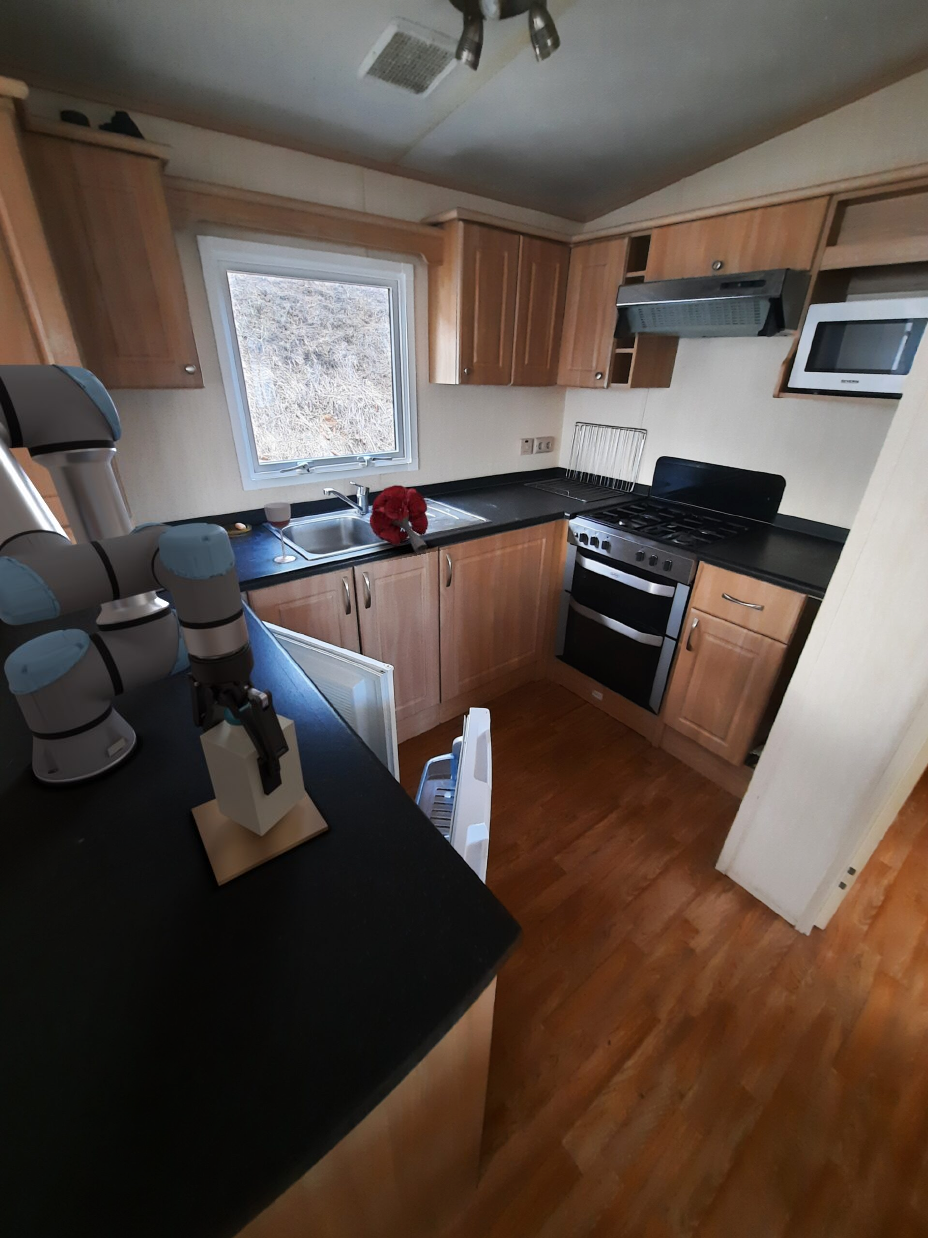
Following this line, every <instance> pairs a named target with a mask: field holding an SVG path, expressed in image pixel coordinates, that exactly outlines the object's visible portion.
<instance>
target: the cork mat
mask: <svg viewBox="0 0 928 1238" xmlns="http://www.w3.org/2000/svg"><path fill="white" fill-rule="evenodd" d="M191 813H192V815H193V819H194V821H195V824H196V827H197V830H198V833H199V835H200V838H201V840H202V843H203V846H204V849H205V852H206V855H207V858H208V861H209V863H210V866H211V868H212V871H213V874H214V877H215V880H216V883H217V885H218V887H220V886H222V885H224V884H226V883H227V882H230V881H232V880H234V879H235V878H237V877H239V876H241V875H243V874H246V873H247V872H249V871H251V870H253V869H255V868H256V867H260V866H261V865H263V864H264V863H266V862H268V861H270V860H272V859H274V858H276V857H278V856H279V855H282V854H284V853H285V852H288V851H290V850H291V849H293V848H296V847H297V846H299V845H301V844H303V843H305V842H307V841H309V840H311V839H312V838H315V837H316V836H317V837H318V836H319V835H320V834H322V833H324V832H327V831H328V830H329V826H328V824H327V822H326V821H325V819H324V818H323V816H322V814H321V812H320V811H319V810H318V809H317V807H316V805H315V804H314V802H313V800H312V799H311V797H310V796H309V794H308V793H307V791H306V790H305V797H304V798H303V799H302V800H301V801H299V802H298V803H297V804H296V805H295V806H294V807H293V808H292V809H291V810H290V811H289V812H288V813H287V814H285V815H284V816H283V817H282V818H281V819H280V820H279V821H278V822H277V823H276V824H275V825H274V826H272V827H271V828H270V829H269V830H268V831H267V832H266V833H265V834H264V835H263V836H260V835H259V834H257V833H255V832H253V831H251V830H250V829H248V828H246V827H244V826H242V825H241V824H239V823H237V822H235V821H233V820H232V819H230V818H228V817H226V816H224V815H223V814H221V813H220V811H219V807H218V804H217V800H216V798H214V799H212V800H209V801H207V802H204V803H202V804H199V805H197V806H196V807H193V808H191Z"/></svg>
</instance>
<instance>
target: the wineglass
mask: <svg viewBox="0 0 928 1238" xmlns="http://www.w3.org/2000/svg"><path fill="white" fill-rule="evenodd" d="M263 509H264V513H265V517H266V520H267V522H268V524H269V526H271V527H272V528H274V529H277V530H279V536H280V543H281V549H282V555H280V556H277V557H275V558H274V562H276V563H280V564H281V563H282V564H283V563H291V562H294V561H295V560H296V556H293V555H286V549H285V542H284V537H283V529H285V528H287V527H288V526H289V525H290V523H291V513H292V512H291V503H288V502H269V503H266V504H264V506H263Z"/></svg>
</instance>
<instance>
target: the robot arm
mask: <svg viewBox="0 0 928 1238" xmlns="http://www.w3.org/2000/svg"><path fill="white" fill-rule="evenodd" d="M120 422H121V420H120V416H119V414H118V411H117V408H116V406H115V403H114V401H113V399H112V398H111V396H110V394H109V392H108V391H107V389H106V387H105V386H104V384H103V383H102V382H101V381H100V379H99V378H97V376H96V375H95V374H94V373H93V372H91V370H88V369H87V368H85V367H80V366H74V365H73V366H72V365H59V364H56V363H52V364H0V619H1V620H2V622H3V623H5V624H7V625H10V626H20V625H27V624H31V623H36V622H40V621H46V620H54V619H56V618H59V617H61V616H64V615H68V614H71V613H75V612H79V611H82V610H85V609H89V608H93V607H97V606H100V608H101V611H100V613H99V615H98V617H97V618H96V620H95V624H96V626H97V628H98V631H97V632H94V633H91V634H88V633H86V632H85V631H84V630H81V629H78V628H67V629H65V630H63V629H61V630H60V629H59V630H55V631H51V632H48V633H44V634H42V635H40V636H37V637H35V638H32V639H30V640H28V641H27V642H25V643H22V644H21V645H20V646H19V647H17V648H16V649H15V650H14V651H13V652H11V653H10V654H9V656H8V657H7V658H6V660H5V662H4V666H3V670H4V674H5V676H6V679H7V682H8V689H9V691H10V692H11V694H13V695H14V696H15V699H16V701H17V704H18V706H19V708H20V710H21V712H22V714H23V717H24V719H25V722H26V724H27V726H28V728H29V730H30V732H31V733H30V734H31V735H32V757H31V759H30V760H29V761H28V762H27V763H26V764H25V767H26V768H30V767H31V766H32V771H33V773H34V775H35V777H36V779H37V781H38V782H40V783H41V784H43V785H45V786H48V787H56V788H57V787H58V788H63V787H72V786H77V785H82V784H86V783H88V782H92V781H94V780H97V779H99V778H101V777H103V776H106V775H107V774H110V773H111V772H113V771H115V770H116V769H118V768H119V767H121V766H123V764H124V763H126V762H127V761H128V760H129V759H130V758H131V757H132V755H133V754H134V753H135V751H136V749H137V746H138V738H137V736H136V732H135V730H134V729H133V727H132V726H131V725H130V724H129V723H128V722H127V721H126V720H125V718H123V717H122V716H121V715H120V713H118V712H117V710H116V709H115V708H114V706H113V704H112V701H111V699H112V698H114V697H115V698H116V697H117V696H120V695H123V694H125V693H128V692H131V691H133V690H136V689H140V688H142V687H144V686H146V685H149V684H151V683H154V682H157V681H160V680H162V679H163V680H164V679H169V678H171V676H173V675H175V674H178V673H179V672H182V671H185V670H186V669H187V668H189V667H190V670H191V671H189V672H188V673H186V675H185V676H186V679H187V682H188V684H189V687H190V688H189V689H190V698H191V710H192V721H193V725H194V727H196V728H197V729H198V728H200V727H201V728H202V732H203V734H204V733H206V732H207V731H209V730H210V729H212V728H213V727H215V726H216V725H218V724H219V723H221V722H223V721H224V720H225V717H224V710H225V708H226V707H227V708H228V709H229V710H230V711H231V713H232V715H233V717H234V718H235V719H239V720H240V722H241V723H242V725H243V727H244V729H245V730H246V732H247V734H248V736H249V737H250V739H251V741H252V743H253V745H254V746H255V748H256V750H257V752H258V753H259V755H260V757H259V758H257V763H258V768H259V772H260V777H261V782H262V786H263V791H264V794H265V795H267V796H268V795H270V794H271V793H272V792H273V791H274V790H275V789H276V788H278V787H279V786H280V785H281V784H282V780H281V775H280V770H281V767H280V762H279V758H280V757H282V756H283V755H284V754H285V753H286V752H288V751H289V747H288V745H287V742H286V739H285V737H284V734H283V731H282V728H281V726H280V723H279V720H278V718H277V715H278V714H277V712H276V709H275V706H274V702H273V700H274V699H273V694H272V691H271V690H270V689H265V690H263V691H259V690H258V689H256V688H255V684H254V683H253V681H252V679H251V674H252V672H253V669H254V667H255V657H254V653H253V649H252V644H251V641H250V640H249V639H250V636H249V629H248V625H247V621H246V616H245V612H244V609H245V608H244V605H243V604H244V603H243V599H242V594H241V588H240V583H239V579H238V572H237V567H236V556H235V551H234V550H233V548H232V545H231V540H230V538H229V533H228V532H227V530H226V529H225V528H224V527H222V526H221V525H218V524H216V523H215V524H214V523H206V522H195V523H194V522H193V523H184V524H179V525H175V526H173V525H168V524H166V523H161V522H146V523H142V524H139V525H138V526H136V527H134V528H133V524H132V522H131V519H130V517H129V513H128V510H127V508H126V505H125V503H124V499H123V496H122V493H121V491H120V487H119V484H118V482H117V479H116V476H115V473H114V471H113V468H112V465H111V461H112V459H113V458H114V456H115V454H116V453H117V449H116V445H115V442H118V441H120V439H121V438H122V435H123V430H122V429H123V428H122V425H121V423H120ZM22 448H24V449H25V448H26V449H27V451H28V454H29V457H30V459H31V461H32V462H34V463H36V464H37V465H40V466H41V467H43V468H45V469H46V470H47V472H48V473H49V476H50V478H51V481H52V484H53V486H54V489H55V492H56V494H57V496H58V499H59V502H60V504H61V507H62V509H63V513H64V514H65V517H66V520H67V522H68V525H69V527H70V530H71V533H72V535H73V538H74V541H75V544H73V542H72V540H71V539H70V537H69V536H68V534H67V533H66V532H65V530H64V529H63V527H62V526H61V524H60V523H59V521H58V520H57V518H56V516H55V515H54V513H53V512H52V510H51V509H50V508H49V506H48V504H47V503H46V502H45V500H44V498H43V497H42V496H41V494H40V493H39V491H38V490H37V488H36V487H35V485H34V484H33V482H32V481H31V479H30V478H29V476H28V475H27V473H26V472H25V470H24V469H23V467H22V465H21V464H20V463H19V461H18V460H17V459H16V456H15V455H14V454H13V452H12V451H11V449H22ZM162 588H164V589H165V591H167V592H168V593H170V595H171V598H172V602H173V605H174V609H173V608H171V605H170V603H169V601H166V600H164V599H162V598H160V597H158V596H157V592H155V590H158V589H162ZM248 703H250V704H249V706H248V707H246V708H245V709H243V710H242V711H240V710H239V709H241V708H242V707H244V706H246V705H247V704H248ZM276 714H277V715H276Z"/></svg>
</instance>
